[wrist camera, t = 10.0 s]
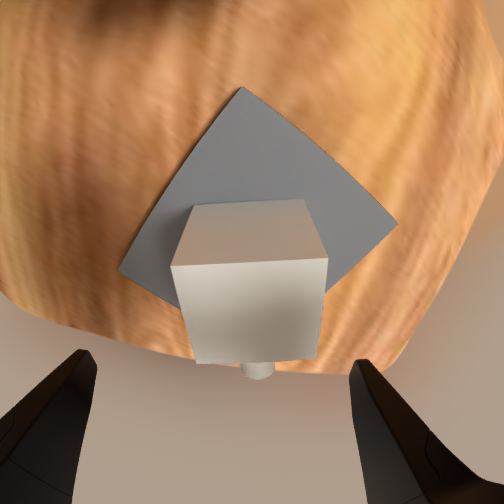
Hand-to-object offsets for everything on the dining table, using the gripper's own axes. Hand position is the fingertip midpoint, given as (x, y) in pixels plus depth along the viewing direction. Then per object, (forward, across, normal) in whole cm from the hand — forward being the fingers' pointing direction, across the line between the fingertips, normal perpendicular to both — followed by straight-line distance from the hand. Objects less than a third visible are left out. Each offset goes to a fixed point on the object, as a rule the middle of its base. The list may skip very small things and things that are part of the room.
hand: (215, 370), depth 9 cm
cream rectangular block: (+10, -1, +3) cm, 10 cm away
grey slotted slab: (+11, -1, +1) cm, 11 cm away
